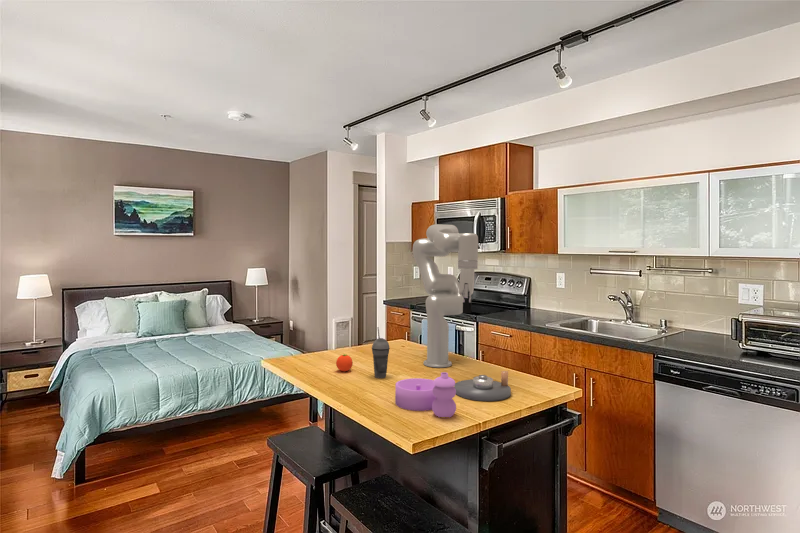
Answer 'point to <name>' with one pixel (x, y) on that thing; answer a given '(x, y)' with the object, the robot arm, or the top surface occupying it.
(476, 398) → the grey domed disc
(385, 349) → the beverage cup
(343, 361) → the tomato
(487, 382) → the cover
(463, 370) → the top surface
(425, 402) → the container set
